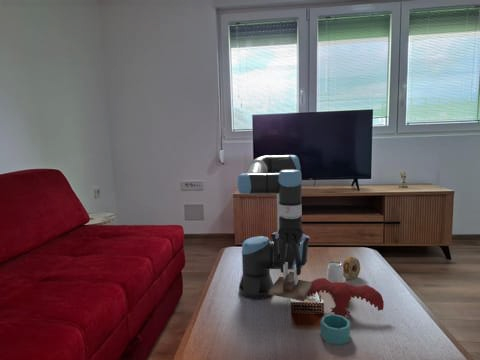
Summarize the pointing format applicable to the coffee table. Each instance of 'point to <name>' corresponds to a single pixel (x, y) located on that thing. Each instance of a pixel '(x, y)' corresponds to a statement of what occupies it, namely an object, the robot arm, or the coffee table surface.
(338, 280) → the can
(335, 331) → the teal bowl
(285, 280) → the walnut lid
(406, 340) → the coffee table surface
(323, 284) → the decorative bird sculpture
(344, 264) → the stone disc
